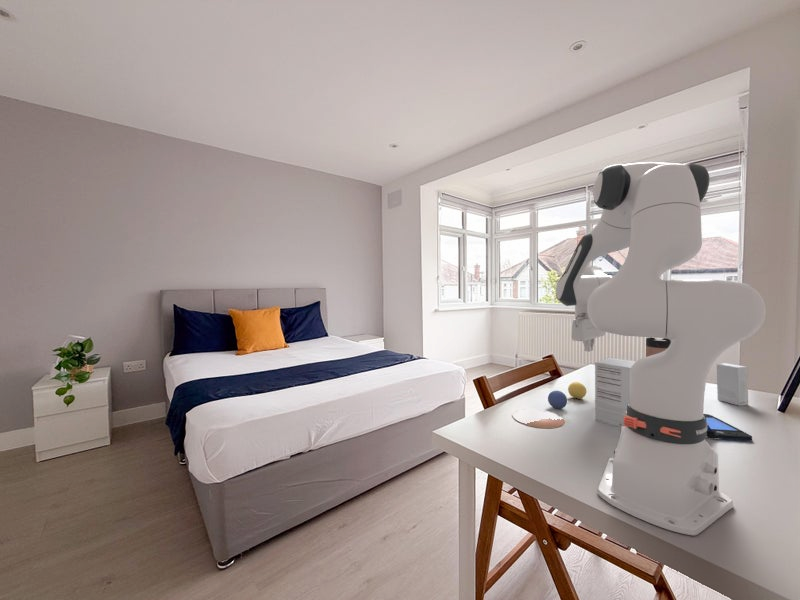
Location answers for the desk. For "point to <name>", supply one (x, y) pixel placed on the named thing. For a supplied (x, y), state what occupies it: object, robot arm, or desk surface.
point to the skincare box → (732, 383)
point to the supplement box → (612, 390)
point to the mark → (547, 423)
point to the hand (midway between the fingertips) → (588, 351)
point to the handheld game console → (724, 430)
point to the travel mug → (656, 346)
